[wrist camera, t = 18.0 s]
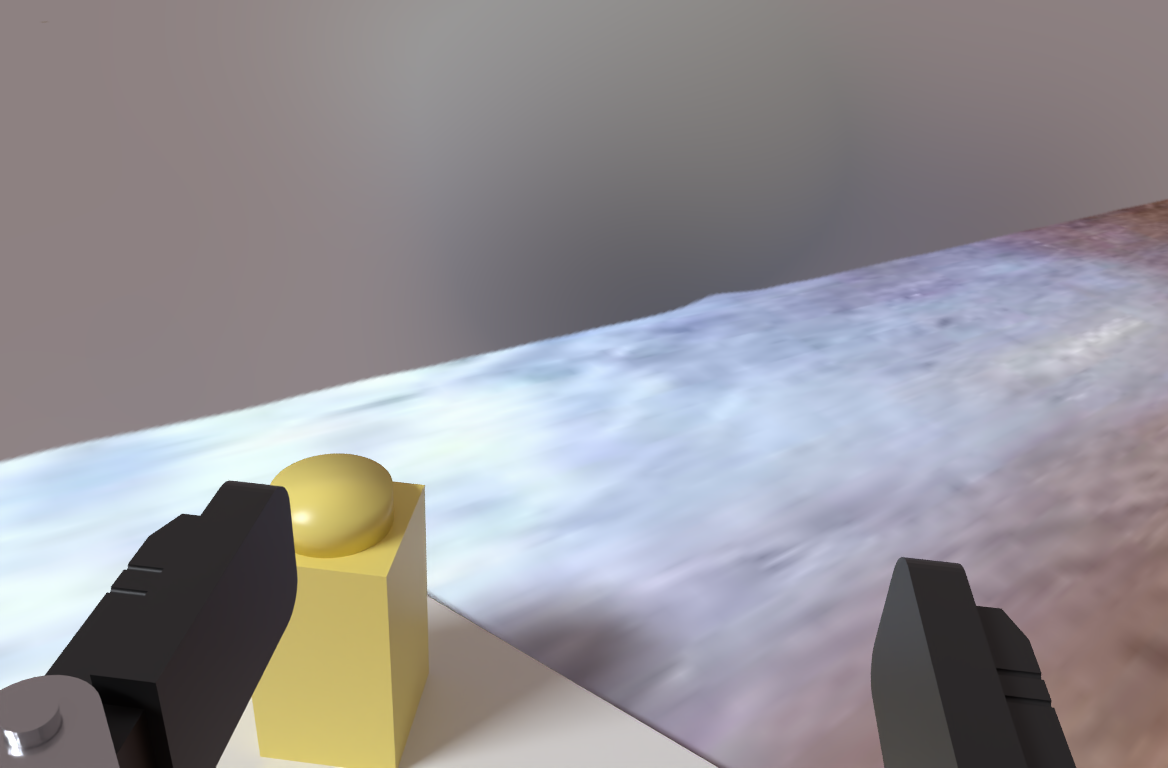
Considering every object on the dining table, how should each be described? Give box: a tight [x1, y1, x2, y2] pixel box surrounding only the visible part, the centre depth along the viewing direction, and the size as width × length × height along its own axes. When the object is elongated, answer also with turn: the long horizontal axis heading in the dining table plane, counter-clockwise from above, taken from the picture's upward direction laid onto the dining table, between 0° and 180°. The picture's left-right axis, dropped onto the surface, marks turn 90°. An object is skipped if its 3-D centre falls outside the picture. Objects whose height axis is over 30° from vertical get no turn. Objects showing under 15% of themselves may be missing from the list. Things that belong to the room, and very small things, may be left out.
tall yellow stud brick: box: [252, 454, 429, 768], centre depth 45 cm, size 6×6×13 cm
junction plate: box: [216, 596, 718, 768], centre depth 44 cm, size 16×26×8 cm, turn 54°
